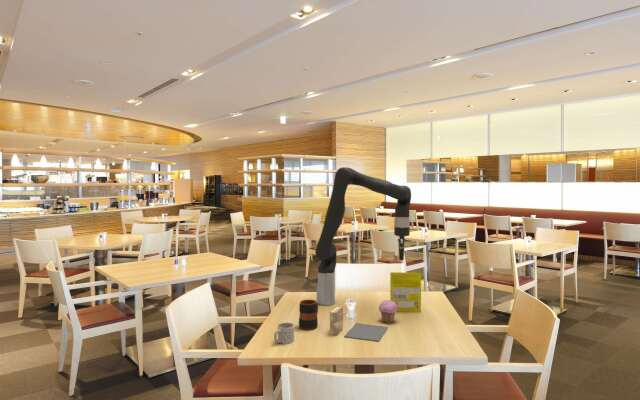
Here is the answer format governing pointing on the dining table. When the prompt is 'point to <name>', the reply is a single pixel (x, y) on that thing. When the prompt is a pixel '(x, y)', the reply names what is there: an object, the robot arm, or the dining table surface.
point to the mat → (366, 332)
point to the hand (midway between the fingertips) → (401, 258)
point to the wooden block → (336, 321)
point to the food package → (406, 291)
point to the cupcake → (388, 310)
